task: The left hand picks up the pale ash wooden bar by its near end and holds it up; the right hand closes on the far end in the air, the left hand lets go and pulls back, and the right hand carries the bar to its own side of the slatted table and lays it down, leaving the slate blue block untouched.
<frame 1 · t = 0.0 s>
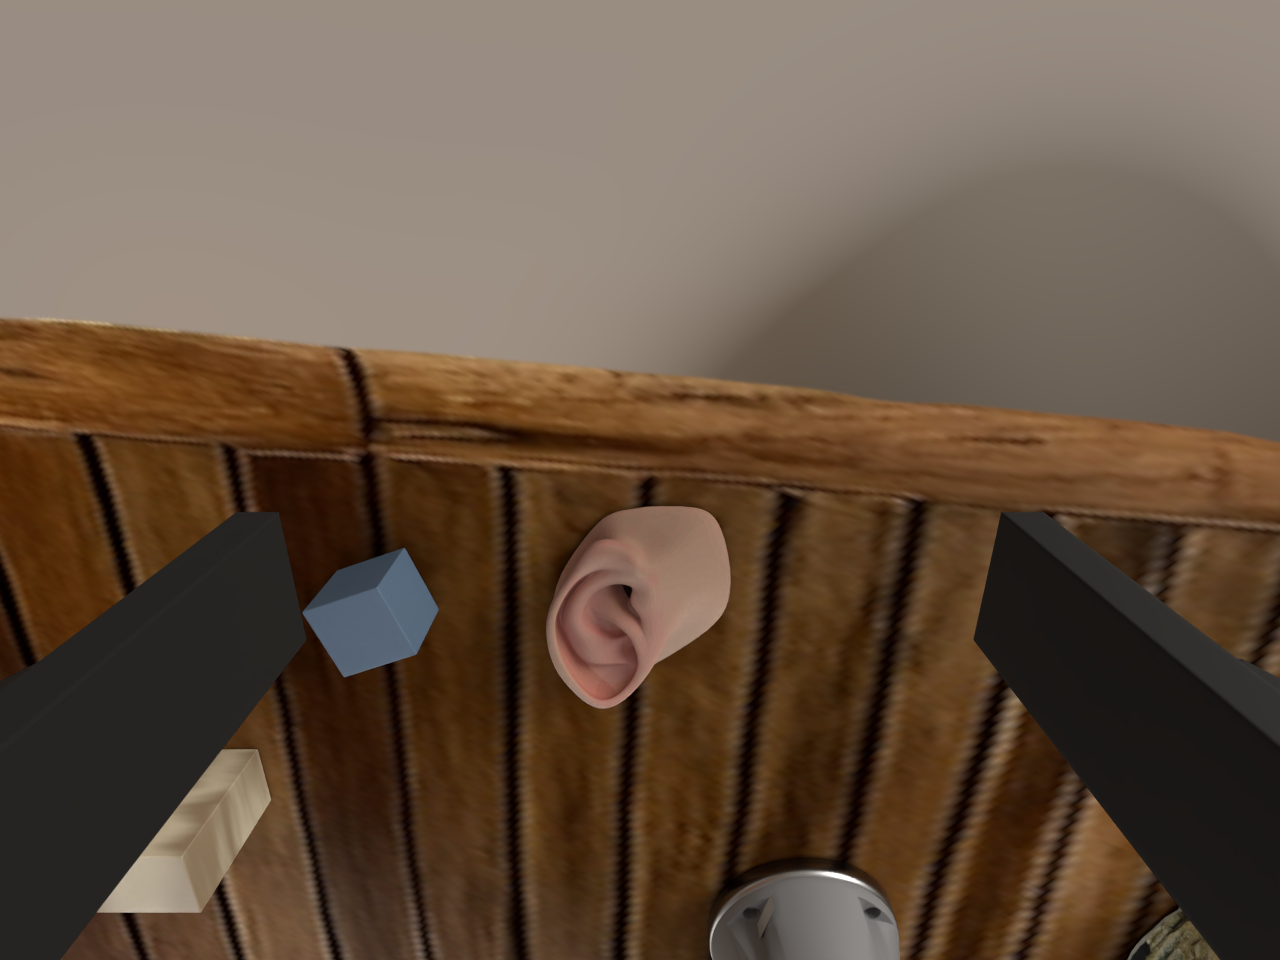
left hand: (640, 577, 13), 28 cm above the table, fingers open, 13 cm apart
slate blue block: (388, 589, 45), on the table
fossil: (1193, 927, 57), on the table
ash bar: (98, 774, 51), on the table
anatomical model: (639, 587, 45), on the table
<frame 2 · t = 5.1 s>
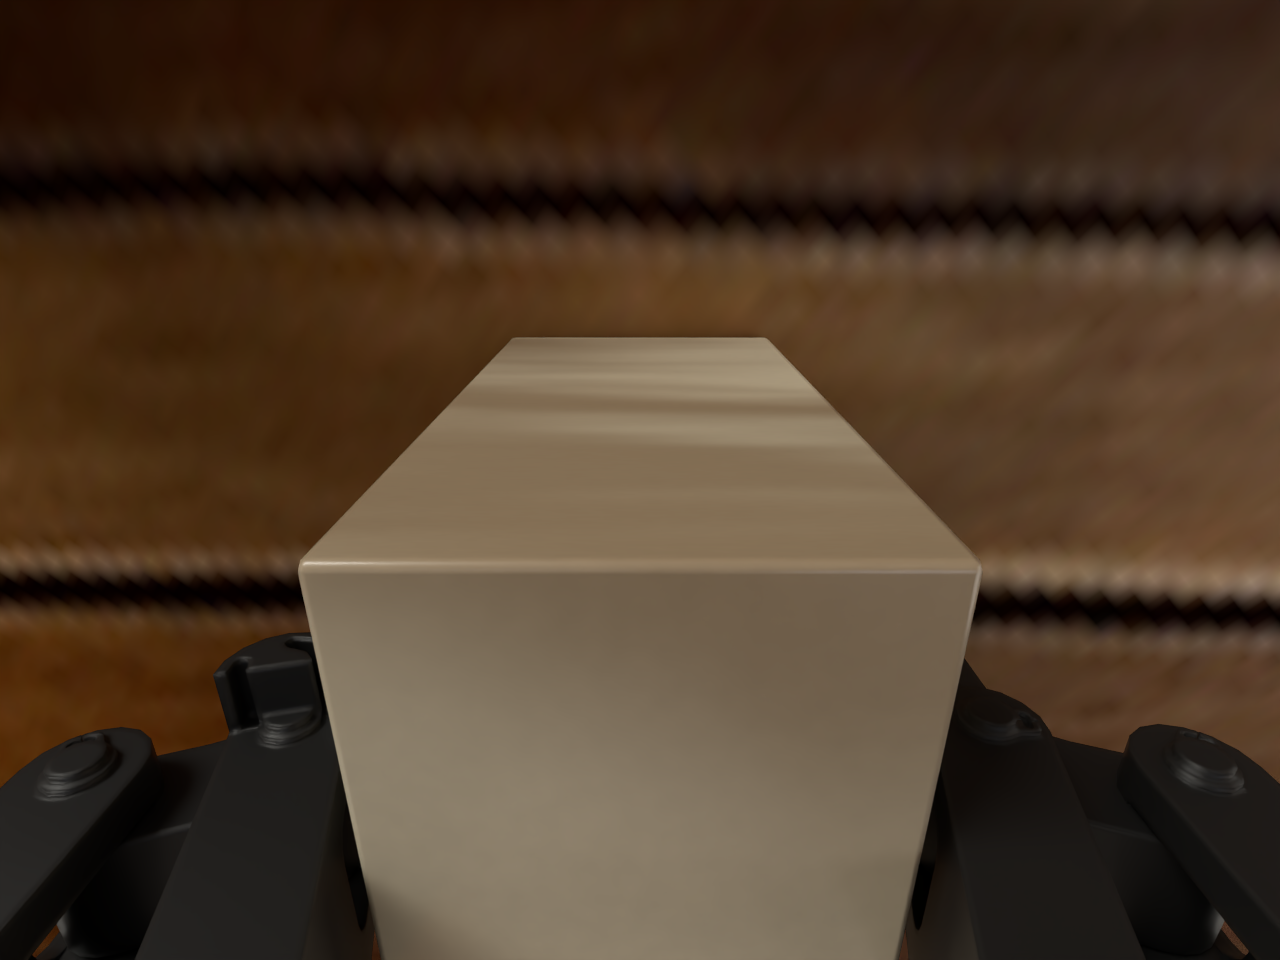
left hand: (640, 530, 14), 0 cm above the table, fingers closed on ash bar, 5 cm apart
ash bar: (639, 814, 18), on the table, touching left hand
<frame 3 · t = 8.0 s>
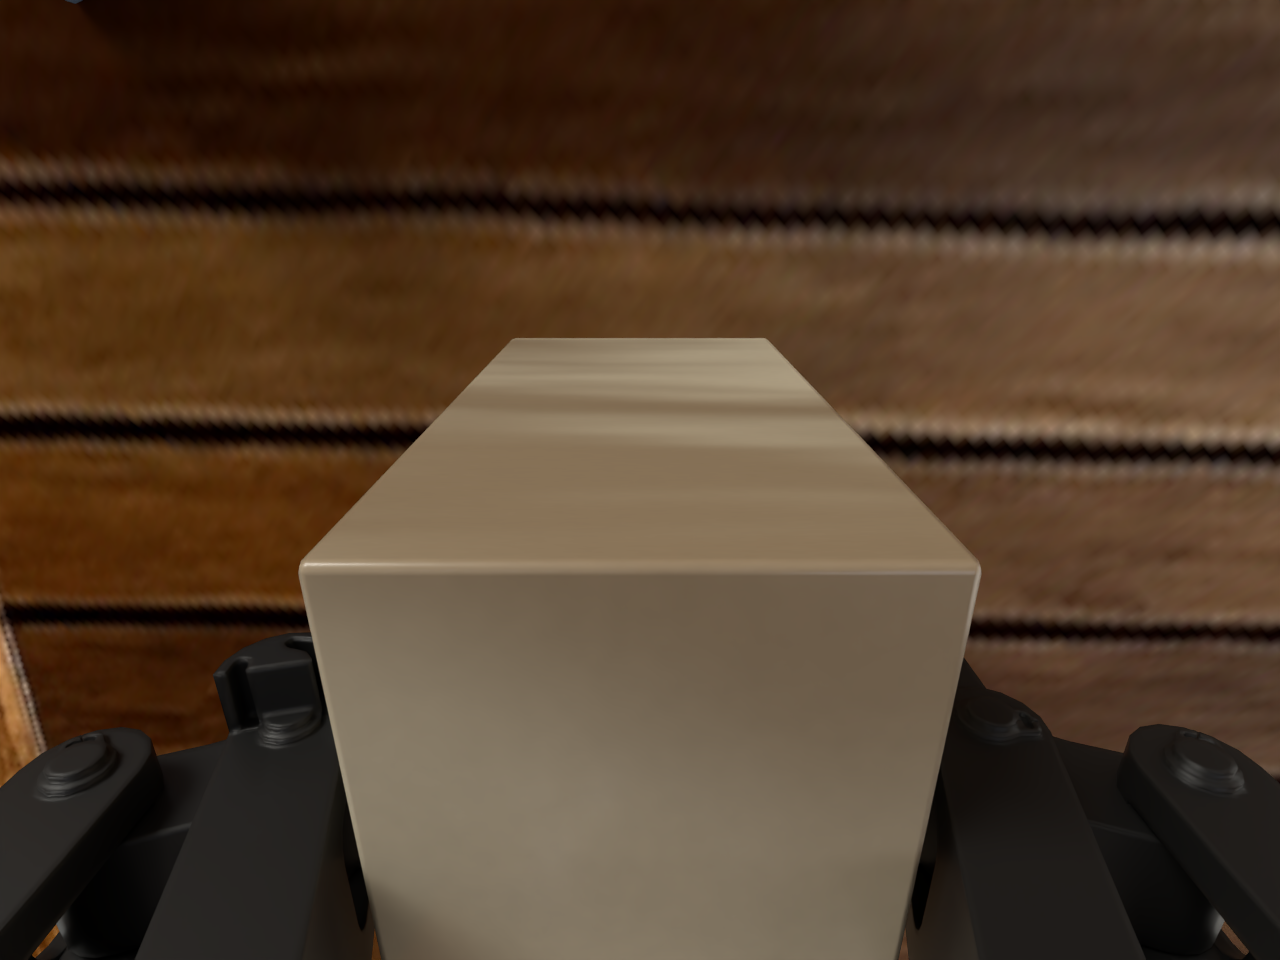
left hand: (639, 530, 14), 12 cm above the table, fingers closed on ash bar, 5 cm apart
ash bar: (639, 814, 18), point 12 cm above the table, touching left hand
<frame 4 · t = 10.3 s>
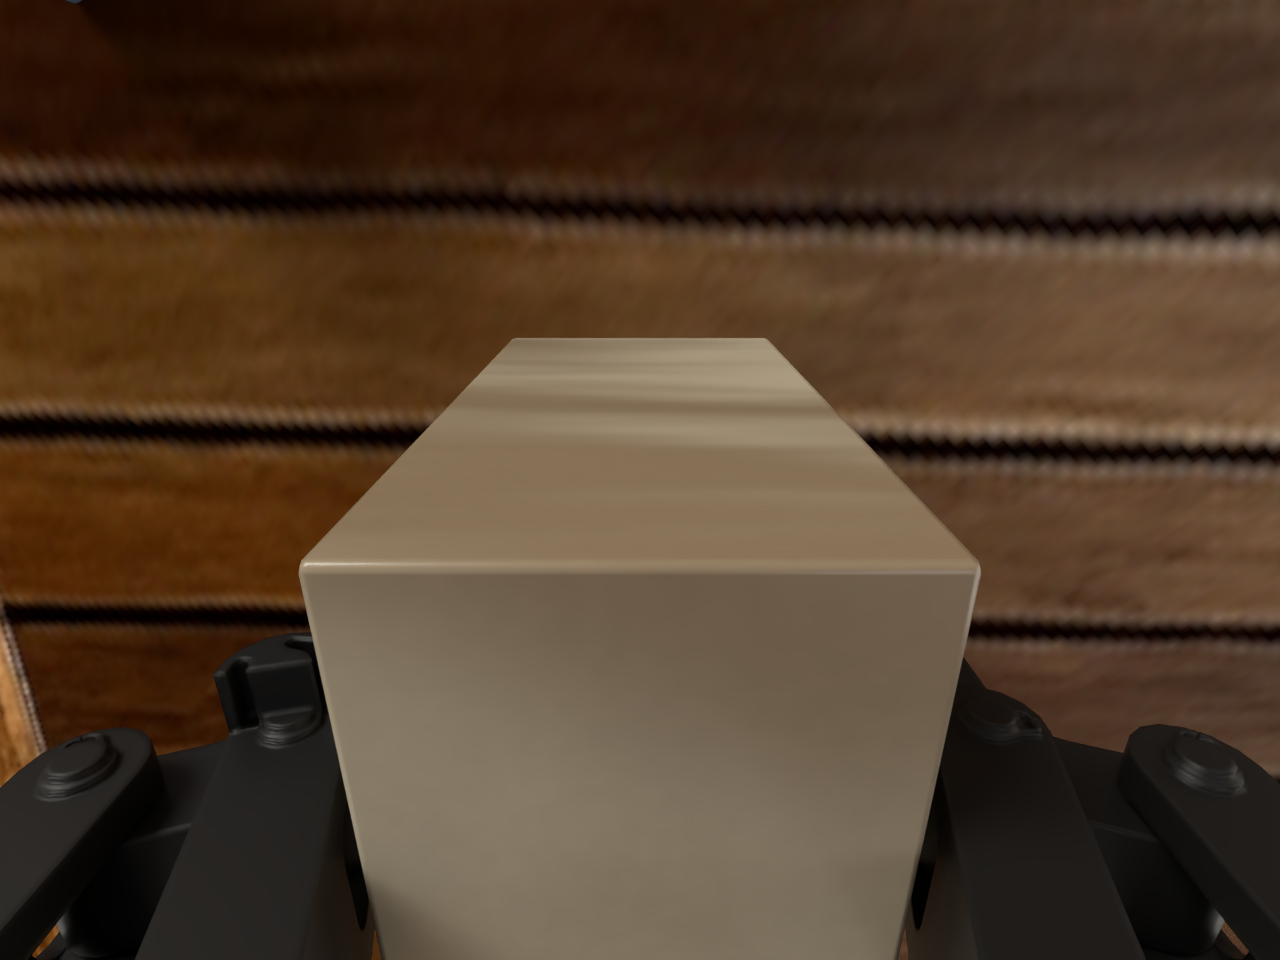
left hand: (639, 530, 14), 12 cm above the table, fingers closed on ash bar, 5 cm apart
ash bar: (639, 814, 18), point 12 cm above the table, touching left hand, right hand
when the left hand's fingers open (12 cm above the table, at t = 11.2 s): ash bar stays where it is, held by the right hand.
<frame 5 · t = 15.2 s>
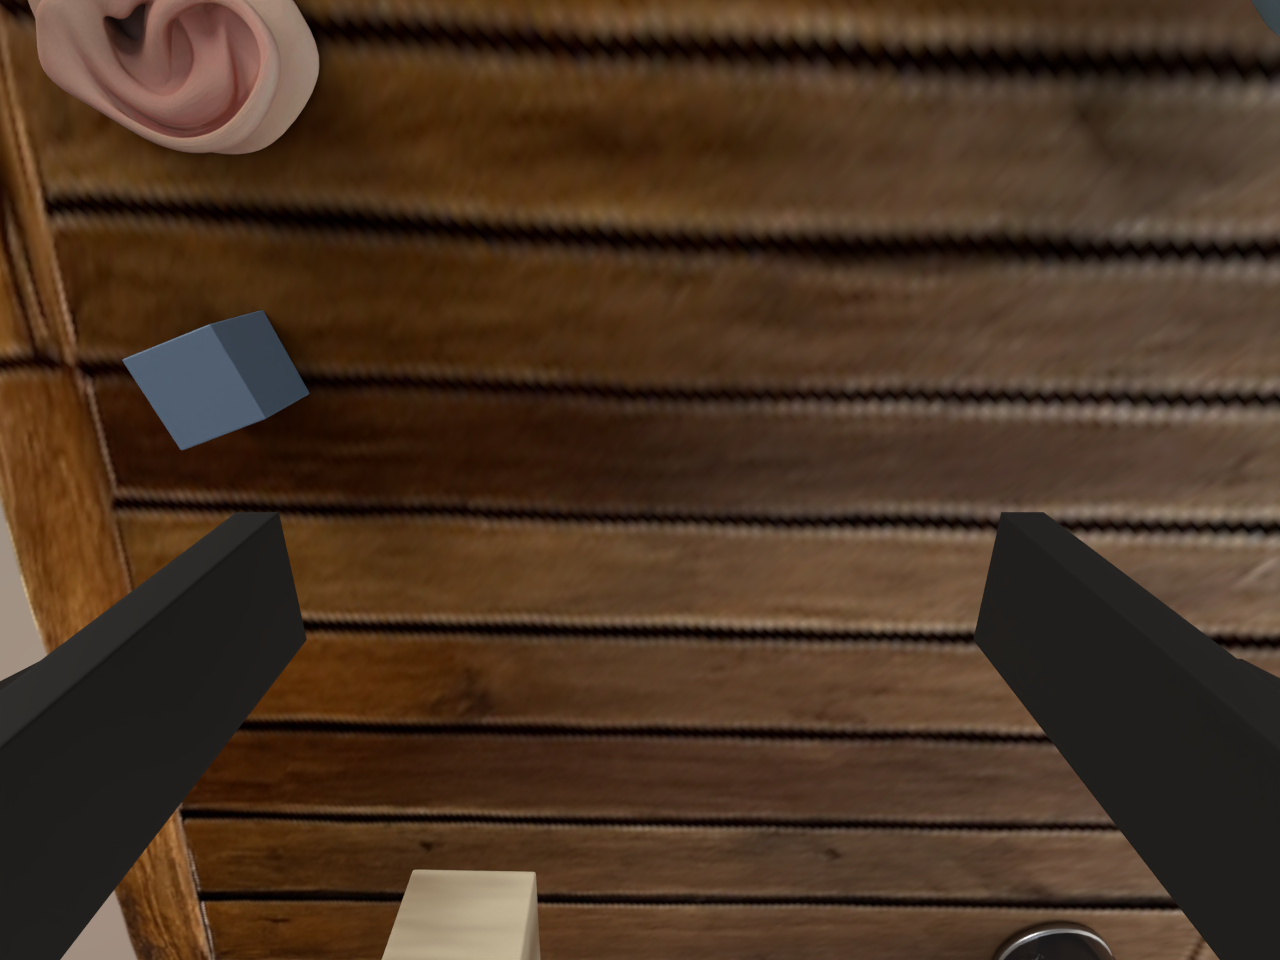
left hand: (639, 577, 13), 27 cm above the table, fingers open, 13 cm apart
slate blue block: (248, 367, 38), on the table
anatomical model: (168, 17, 32), on the table
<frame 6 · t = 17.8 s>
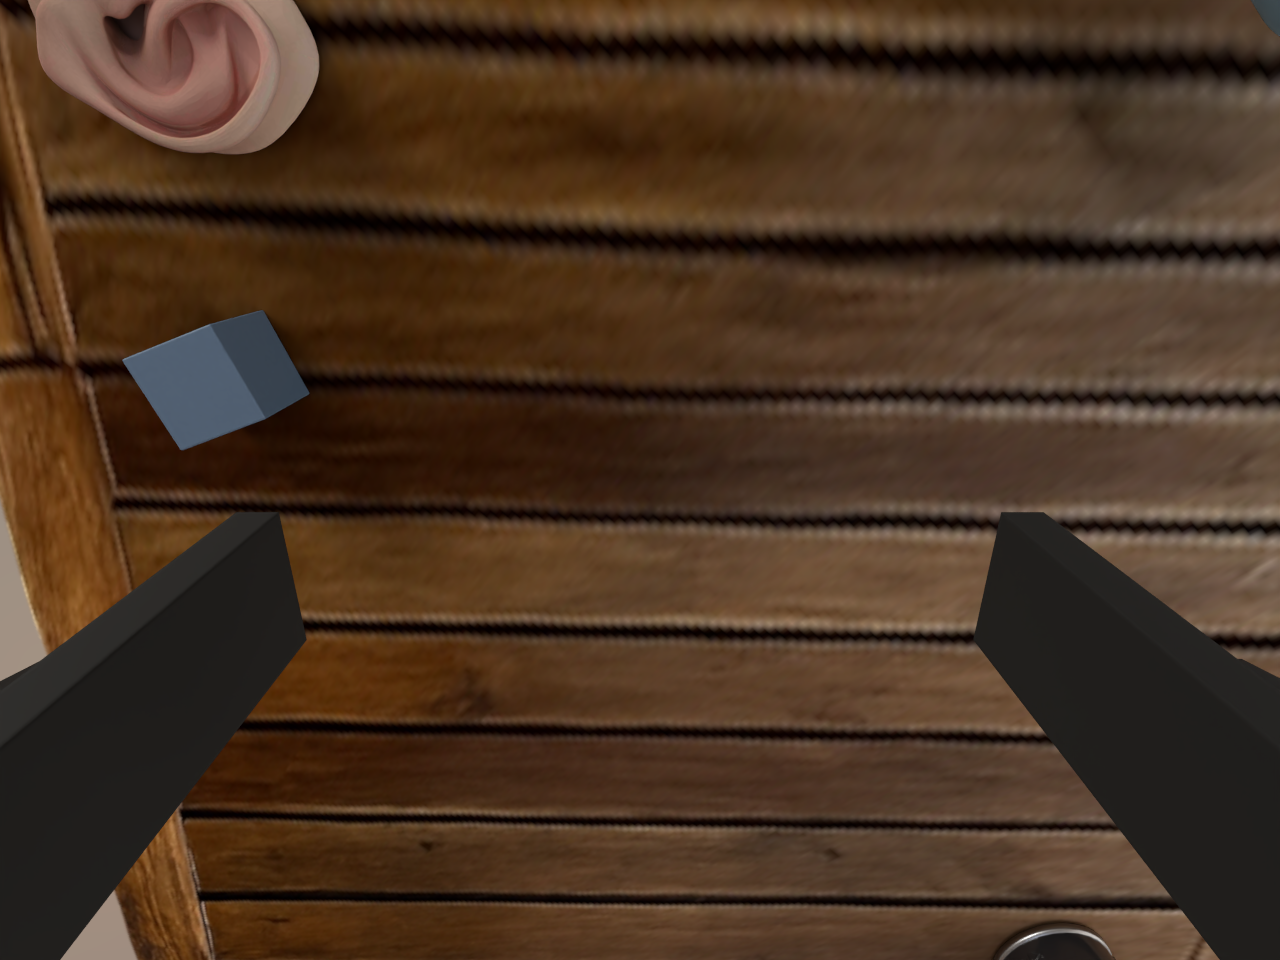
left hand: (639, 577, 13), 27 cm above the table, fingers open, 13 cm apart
slate blue block: (248, 367, 38), on the table
anatomical model: (168, 17, 32), on the table
when the right hand's fingers open (4 cm above the table, at t = 20.0 s): ash bar drops 1 cm, on the table.
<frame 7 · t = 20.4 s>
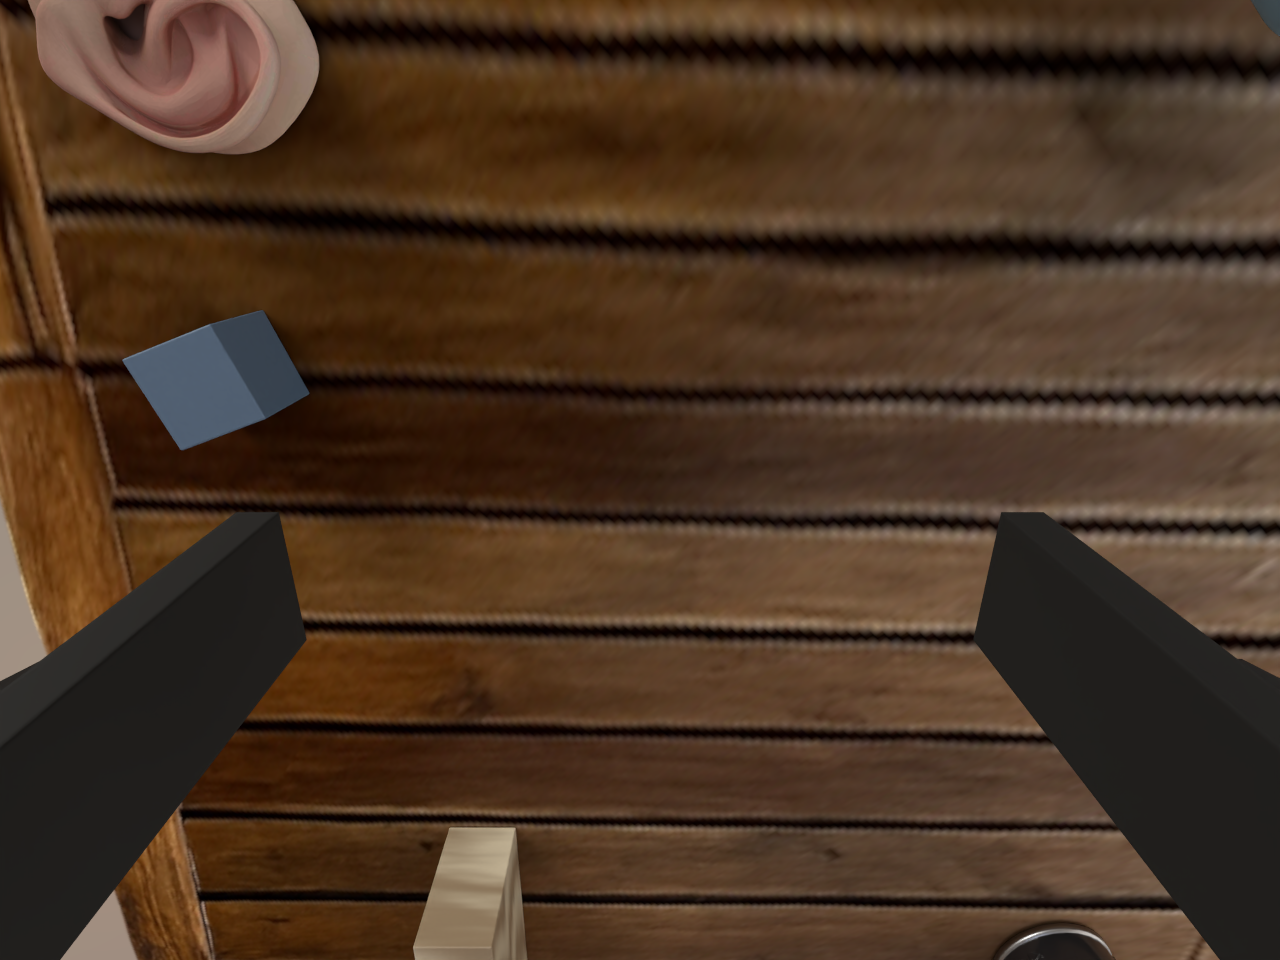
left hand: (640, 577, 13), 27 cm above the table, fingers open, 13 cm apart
slate blue block: (248, 367, 38), on the table
ash bar: (495, 938, 56), on the table
anatomical model: (168, 17, 32), on the table
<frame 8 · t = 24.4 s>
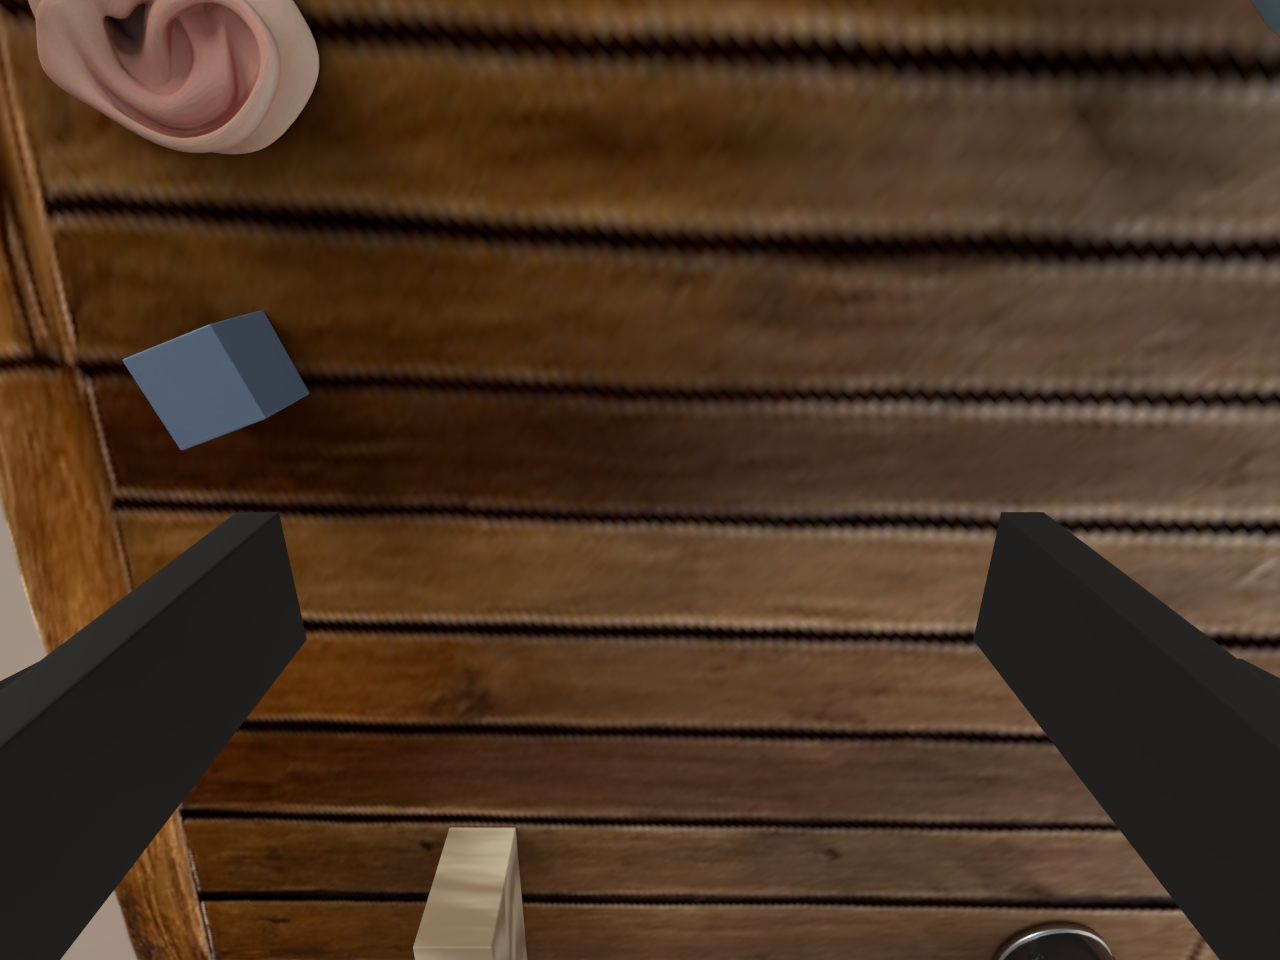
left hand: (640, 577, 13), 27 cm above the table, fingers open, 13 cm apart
slate blue block: (248, 367, 38), on the table
ash bar: (495, 938, 56), on the table
anatomical model: (168, 17, 32), on the table
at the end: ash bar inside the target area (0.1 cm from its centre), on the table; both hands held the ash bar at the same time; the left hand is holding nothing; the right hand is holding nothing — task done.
